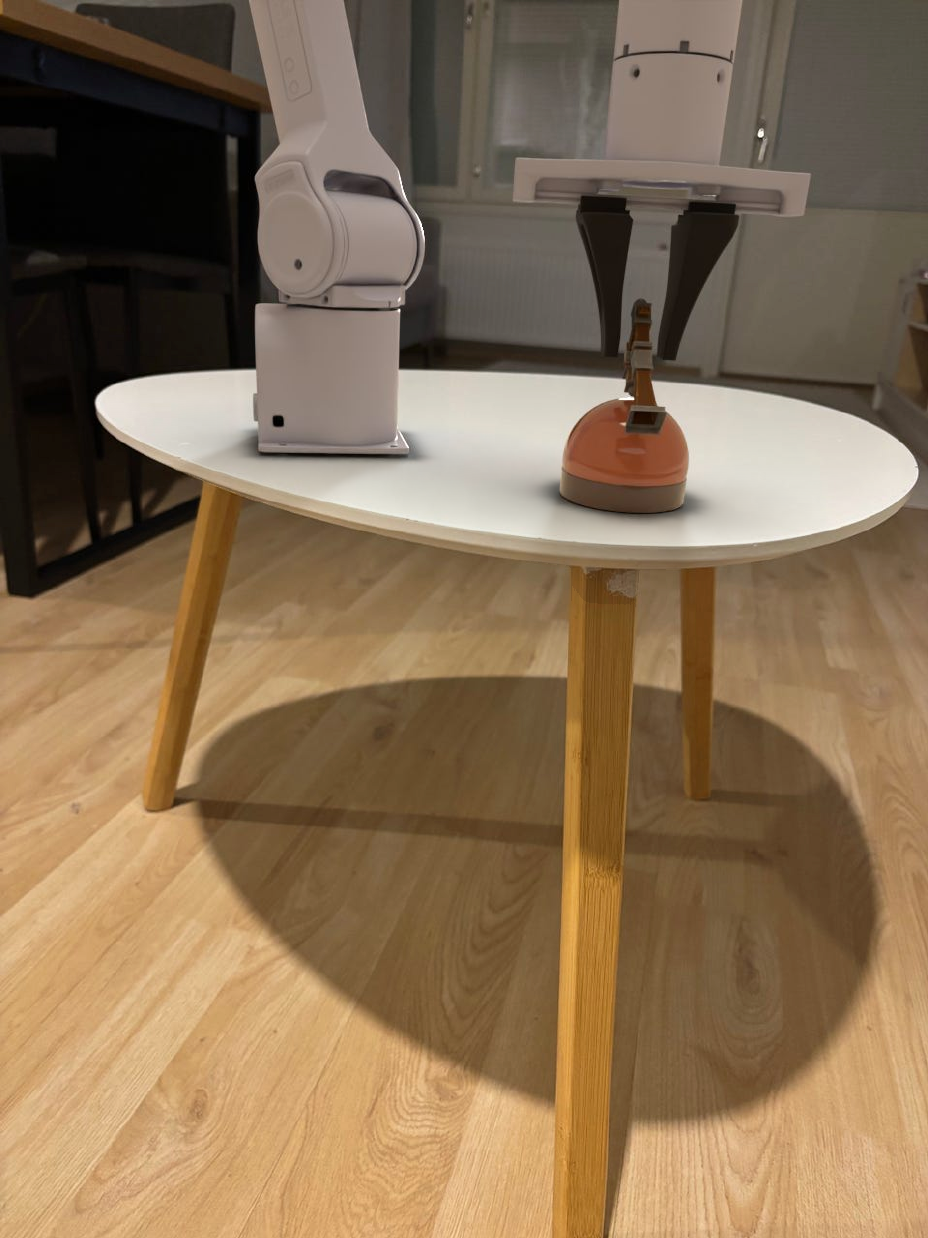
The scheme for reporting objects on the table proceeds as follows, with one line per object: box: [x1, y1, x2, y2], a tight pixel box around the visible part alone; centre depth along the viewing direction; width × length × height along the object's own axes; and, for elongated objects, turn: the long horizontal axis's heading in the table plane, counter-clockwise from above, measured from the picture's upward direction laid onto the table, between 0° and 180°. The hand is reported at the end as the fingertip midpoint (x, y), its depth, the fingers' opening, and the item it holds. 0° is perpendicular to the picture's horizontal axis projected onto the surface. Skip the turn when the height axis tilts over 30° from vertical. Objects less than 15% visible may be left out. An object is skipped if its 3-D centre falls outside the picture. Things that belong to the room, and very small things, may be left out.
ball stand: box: [559, 397, 690, 514], centre depth 51 cm, size 7×7×7 cm
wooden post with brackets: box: [621, 298, 668, 435], centre depth 48 cm, size 2×8×4 cm
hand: (637, 356), depth 49 cm, fingers closed
